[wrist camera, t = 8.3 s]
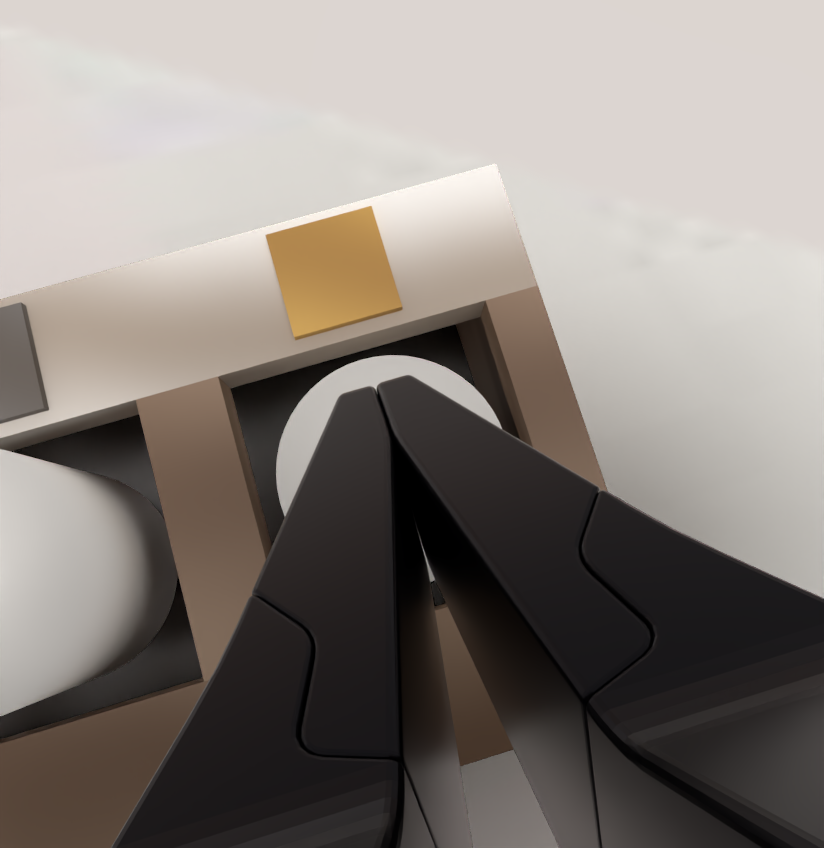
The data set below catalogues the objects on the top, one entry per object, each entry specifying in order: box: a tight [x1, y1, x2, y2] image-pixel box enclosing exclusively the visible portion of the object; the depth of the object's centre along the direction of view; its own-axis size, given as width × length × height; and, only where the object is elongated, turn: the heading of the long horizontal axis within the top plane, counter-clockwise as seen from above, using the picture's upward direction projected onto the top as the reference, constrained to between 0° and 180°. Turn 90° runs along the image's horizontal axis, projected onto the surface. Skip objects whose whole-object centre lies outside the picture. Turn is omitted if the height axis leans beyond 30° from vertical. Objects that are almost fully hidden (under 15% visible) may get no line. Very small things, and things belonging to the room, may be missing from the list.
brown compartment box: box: [0, 164, 607, 848], centre depth 16 cm, size 10×20×7 cm, turn 107°
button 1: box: [276, 355, 502, 582], centre depth 15 cm, size 4×4×4 cm
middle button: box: [0, 449, 178, 716], centre depth 13 cm, size 4×4×4 cm
